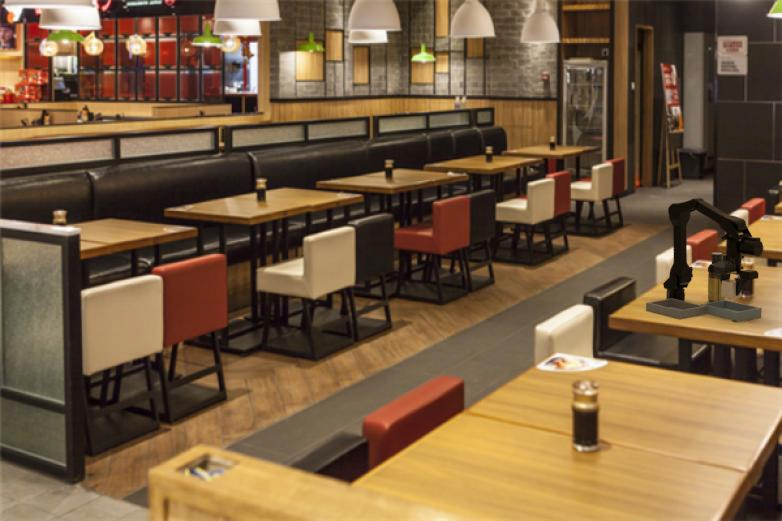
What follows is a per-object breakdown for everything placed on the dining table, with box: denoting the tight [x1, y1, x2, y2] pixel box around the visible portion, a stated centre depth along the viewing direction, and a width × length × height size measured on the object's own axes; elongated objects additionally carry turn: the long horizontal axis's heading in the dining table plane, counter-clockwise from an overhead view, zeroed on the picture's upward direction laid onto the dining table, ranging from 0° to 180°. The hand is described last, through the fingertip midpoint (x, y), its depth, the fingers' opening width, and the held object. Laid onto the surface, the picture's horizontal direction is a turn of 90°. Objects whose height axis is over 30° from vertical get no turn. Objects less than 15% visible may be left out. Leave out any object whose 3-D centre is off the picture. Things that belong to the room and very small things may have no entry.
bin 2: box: [700, 299, 763, 323], centre depth 374 cm, size 17×14×4 cm
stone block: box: [721, 278, 743, 300], centre depth 373 cm, size 5×5×6 cm
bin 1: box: [645, 298, 706, 320], centre depth 377 cm, size 17×14×4 cm
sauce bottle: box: [707, 252, 726, 303], centre depth 393 cm, size 7×6×20 cm
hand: (731, 294), depth 373 cm, fingers closed on stone block, 5 cm apart
